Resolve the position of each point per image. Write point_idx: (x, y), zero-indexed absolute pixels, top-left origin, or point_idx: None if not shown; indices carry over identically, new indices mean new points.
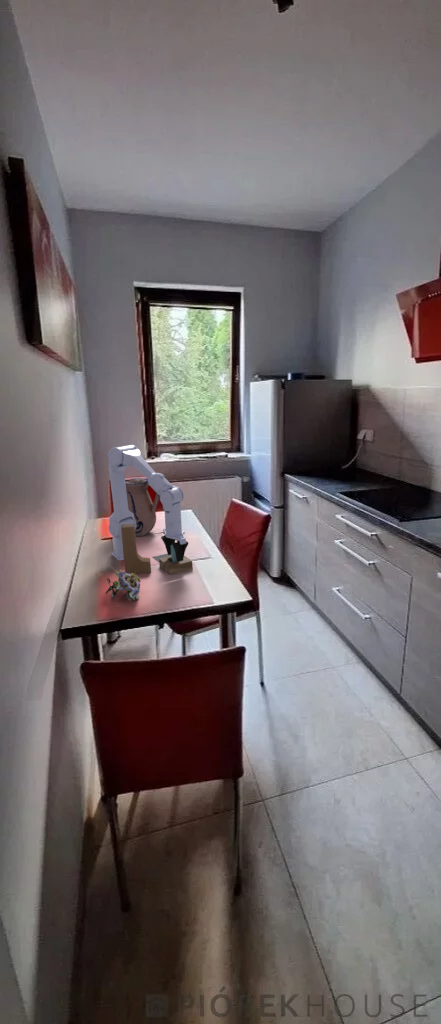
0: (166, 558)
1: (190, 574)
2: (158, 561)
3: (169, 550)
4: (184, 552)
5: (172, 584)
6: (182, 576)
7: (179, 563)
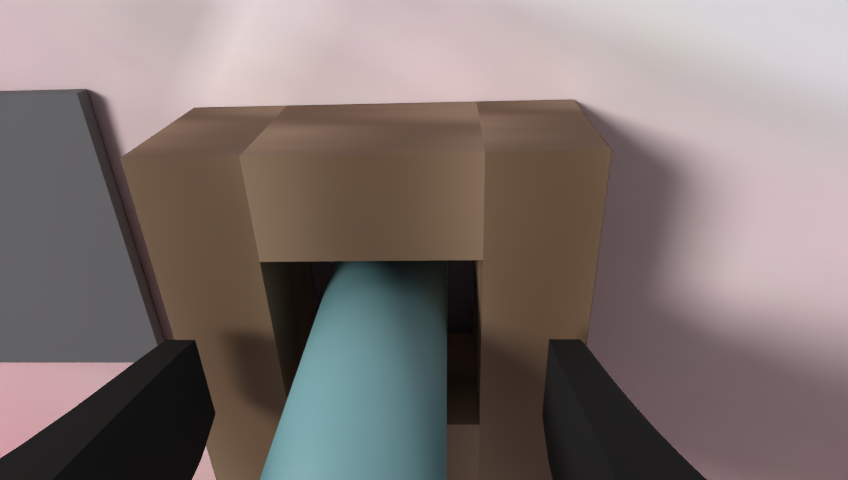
0: (254, 420)
1: (685, 197)
2: (85, 357)
3: (176, 466)
4: (671, 450)
5: (752, 446)
6: (659, 299)
7: None
